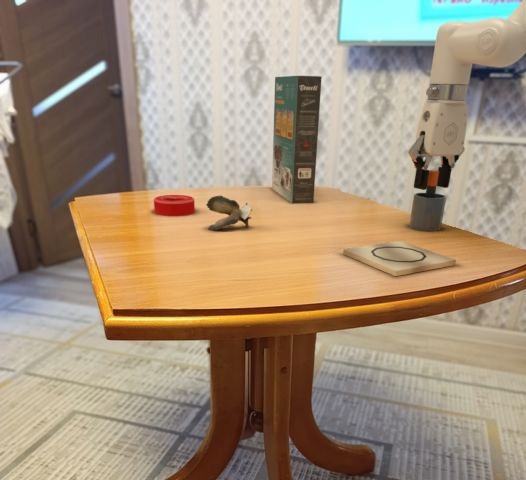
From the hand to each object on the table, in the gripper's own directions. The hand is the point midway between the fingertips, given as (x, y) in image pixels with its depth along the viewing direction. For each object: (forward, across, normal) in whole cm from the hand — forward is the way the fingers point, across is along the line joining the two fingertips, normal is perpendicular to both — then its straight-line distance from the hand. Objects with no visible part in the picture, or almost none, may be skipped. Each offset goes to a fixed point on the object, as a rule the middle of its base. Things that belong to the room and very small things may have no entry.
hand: (431, 187), depth 110 cm
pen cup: (+9, 0, 0) cm, 9 cm away
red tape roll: (+9, -45, +38) cm, 59 cm away
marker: (+8, 0, 0) cm, 8 cm away
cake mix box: (+9, -7, +45) cm, 46 cm away
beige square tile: (+9, -23, -16) cm, 29 cm away
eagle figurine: (+9, -40, +18) cm, 45 cm away
